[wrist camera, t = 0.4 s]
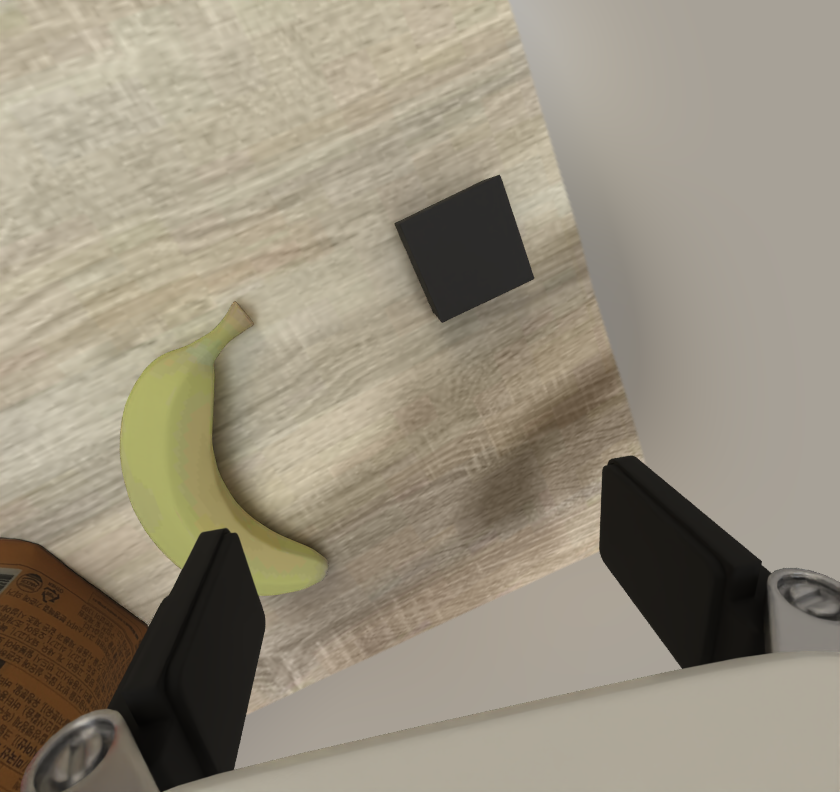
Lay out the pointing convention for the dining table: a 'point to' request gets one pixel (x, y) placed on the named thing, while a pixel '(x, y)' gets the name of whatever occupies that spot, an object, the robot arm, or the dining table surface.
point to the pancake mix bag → (53, 652)
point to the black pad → (466, 248)
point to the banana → (197, 467)
